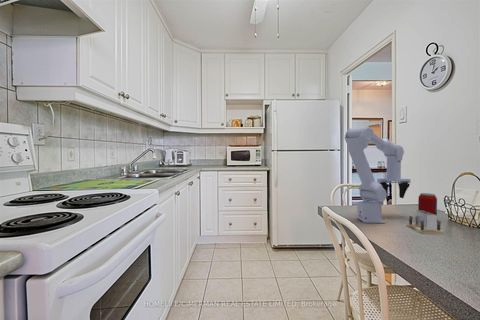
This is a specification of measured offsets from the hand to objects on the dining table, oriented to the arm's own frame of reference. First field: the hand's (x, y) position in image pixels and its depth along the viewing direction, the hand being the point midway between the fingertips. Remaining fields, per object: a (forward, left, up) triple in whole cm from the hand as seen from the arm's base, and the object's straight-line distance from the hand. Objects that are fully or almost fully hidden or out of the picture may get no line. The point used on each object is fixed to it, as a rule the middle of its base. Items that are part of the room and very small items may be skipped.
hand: (393, 197), depth 113 cm
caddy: (+2, -19, -9) cm, 21 cm away
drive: (+2, -19, -8) cm, 21 cm away
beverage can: (+13, -4, -10) cm, 17 cm away
